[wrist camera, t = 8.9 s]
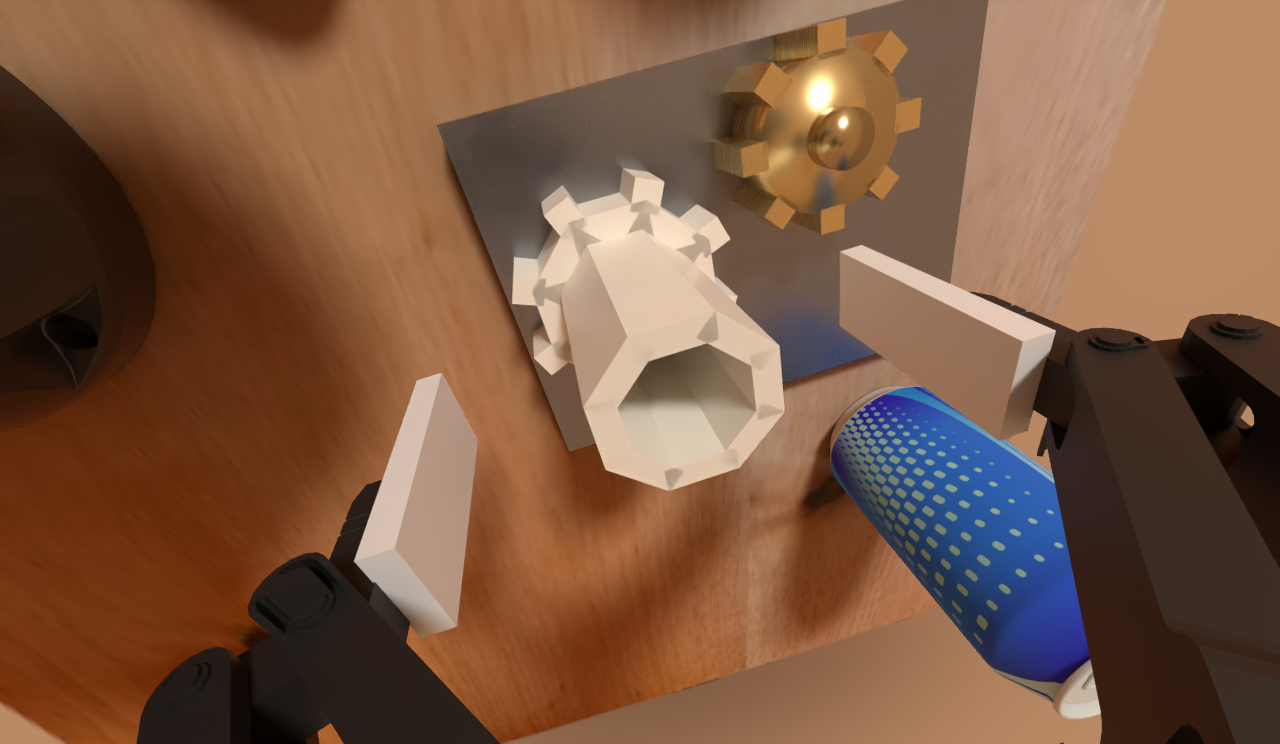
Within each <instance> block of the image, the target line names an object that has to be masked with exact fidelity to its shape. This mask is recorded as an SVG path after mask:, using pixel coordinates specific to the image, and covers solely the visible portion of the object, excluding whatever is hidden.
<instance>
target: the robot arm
mask: <svg viewBox="0 0 1280 744" xmlns="http://www.w3.org/2000/svg"><path fill="white" fill-rule="evenodd" d="M154 302H155V281H154V271H153V266H152V261H151V257H150V253H149V250H148V247H147V243H146V240H145V238H144V235H143V233H142V230H141V227H140V225H139V223H138V221H137V219H136V217H135V215H134V213H133V211H132V209H131V207H130V205H129V204H128V202H127V200H126V198H125V196H124V195H123V193H122V192H121V190H120V189H119V187H118V186H117V184H116V182H115V181H114V179H113V178H112V177H111V175H110V174H109V172H108V171H107V170H106V168H105V167H104V166H103V164H102V163H101V162H100V160H99V159H98V158H97V157H96V156H95V154H94V153H93V152H92V151H91V149H90V148H89V147H88V146H87V145H86V144H85V142H84V141H83V140H82V139H81V138H80V137H79V136H78V135H77V134H76V133H75V131H74V130H73V129H72V128H71V127H70V126H69V125H68V124H67V123H66V122H65V121H64V120H63V119H62V118H61V117H60V116H59V115H58V114H57V113H56V112H55V111H54V110H53V109H52V108H51V107H49V106H48V105H47V104H46V103H45V102H44V101H43V100H42V99H41V98H40V97H38V96H37V95H36V94H35V93H34V92H33V91H32V90H30V89H29V88H28V87H27V86H26V85H24V84H23V83H22V82H21V81H20V80H18V79H17V78H16V77H15V76H13V75H12V74H11V73H10V72H8V71H7V70H6V69H4V68H3V67H2V66H0V433H1V432H4V431H7V430H11V429H14V428H17V427H20V426H23V425H26V424H29V423H32V422H34V421H37V420H39V419H41V418H44V417H46V416H48V415H50V414H52V413H55V412H57V411H58V410H60V409H62V408H64V407H66V406H68V405H69V404H71V403H72V402H74V401H76V400H77V399H79V398H80V397H82V396H83V395H85V394H86V393H87V392H89V391H90V390H92V389H93V388H95V387H96V386H98V385H99V384H101V383H102V382H104V381H105V380H107V379H108V378H109V377H111V376H112V375H113V374H115V373H116V372H117V371H119V370H120V369H121V368H122V367H123V366H124V365H125V364H126V363H127V362H128V361H129V360H130V359H131V358H132V356H133V355H134V354H135V353H136V351H137V350H138V348H139V347H140V345H141V344H142V342H143V340H144V338H145V336H146V334H147V332H148V329H149V326H150V323H151V320H152V315H153V311H154ZM839 326H841V327H842V328H843V329H845V330H846V331H847V332H849V333H850V334H852V335H853V336H854V337H856V338H857V339H859V340H860V341H861V342H863V343H864V344H865V345H867V346H868V347H870V348H871V349H872V350H874V351H875V352H877V353H878V354H879V355H881V356H882V357H883V358H885V359H886V360H888V361H889V362H890V363H892V364H893V365H895V366H896V367H897V368H899V369H900V370H901V371H903V372H904V373H906V374H907V375H908V376H910V377H911V378H913V379H914V380H915V381H917V382H918V383H919V384H921V385H922V386H924V387H925V388H926V389H928V390H929V391H931V392H932V393H933V394H935V395H936V396H937V397H939V398H940V399H942V400H943V401H944V402H946V403H947V404H949V405H950V406H951V407H953V408H954V409H955V410H957V411H958V412H960V413H961V414H962V415H964V416H965V417H967V418H968V419H969V420H971V421H972V422H973V423H975V424H976V425H978V426H979V427H980V428H982V429H983V430H985V431H986V432H987V433H989V434H990V435H991V436H993V437H994V438H996V439H997V440H998V441H999V440H1002V439H1005V438H1008V437H1011V436H1013V435H1016V434H1019V433H1022V432H1025V431H1027V430H1028V427H1029V424H1030V420H1031V417H1032V413H1033V410H1035V411H1036V412H1038V413H1040V414H1041V415H1043V416H1044V417H1046V418H1048V419H1047V423H1046V425H1045V429H1044V432H1043V435H1042V438H1041V441H1040V445H1039V448H1038V452H1037V456H1043V454H1044V451H1045V450H1046V449H1048V453H1049V458H1050V463H1051V468H1052V473H1053V478H1054V483H1055V488H1056V493H1057V498H1058V503H1059V507H1060V512H1061V517H1062V522H1063V527H1064V532H1065V537H1066V542H1067V547H1068V552H1069V557H1070V562H1071V567H1072V572H1073V577H1074V582H1075V587H1076V592H1077V597H1078V602H1079V607H1080V612H1081V616H1082V621H1083V626H1084V631H1085V636H1086V641H1087V646H1088V651H1089V656H1090V661H1091V666H1092V671H1093V676H1094V681H1095V686H1096V691H1097V696H1098V701H1099V706H1100V711H1101V718H1102V734H1101V742H1100V744H1280V327H1278V326H1276V325H1274V324H1272V323H1269V322H1267V321H1264V320H1260V319H1255V318H1253V317H1251V316H1246V315H1240V316H1239V315H1238V314H1210V315H1204V316H1198V317H1196V318H1194V319H1192V320H1190V322H1189V324H1188V326H1187V328H1186V331H1185V333H1184V335H1183V337H1182V338H1179V339H1171V340H1160V341H1151V340H1150V339H1148V338H1146V337H1144V336H1142V335H1140V334H1138V333H1134V332H1130V331H1126V330H1122V329H1113V328H1091V329H1087V330H1083V331H1079V332H1076V331H1074V330H1072V329H1069V328H1067V327H1065V326H1062V325H1060V324H1057V323H1055V322H1053V321H1051V320H1048V319H1046V318H1044V317H1041V316H1039V315H1037V314H1034V313H1032V312H1026V310H1025V309H1022V308H1020V307H1018V306H1015V305H1014V306H1012V305H1011V303H1008V302H1006V301H1004V300H1001V299H999V298H997V297H994V296H991V295H986V294H981V293H976V292H967V291H965V290H963V289H960V288H958V287H956V286H954V285H951V284H949V283H947V282H944V281H942V280H940V279H938V278H935V277H933V276H931V275H929V274H926V273H924V272H922V271H920V270H917V269H915V268H913V267H910V266H908V265H906V264H904V263H901V262H899V261H897V260H895V259H892V258H890V257H888V256H886V255H883V254H881V253H879V252H876V251H874V250H872V249H870V248H867V247H865V246H863V245H860V246H857V247H853V248H850V249H847V250H844V251H840V323H839ZM1247 406H1249V407H1250V408H1251V410H1252V412H1253V415H1254V425H1253V426H1252V427H1251V426H1250V425H1248V424H1247V423H1246V422H1245V421H1244V420H1242V419H1241V418H1240V417H1241V416H1242V414H1243V412H1244V411H1245V409H1246V407H1247ZM477 444H478V439H477V437H476V436H475V434H474V432H473V430H472V428H471V426H470V424H469V422H468V421H467V419H466V417H465V415H464V413H463V411H462V409H461V408H460V406H459V404H458V402H457V400H456V398H455V396H454V395H453V393H452V391H451V389H450V387H449V385H448V383H447V381H446V380H445V378H444V376H443V374H442V373H440V374H436V375H433V376H430V377H426V378H423V379H420V380H417V382H416V385H415V388H414V391H413V393H412V396H411V399H410V402H409V405H408V408H407V411H406V414H405V416H404V419H403V422H402V425H401V428H400V431H399V434H398V437H397V439H396V442H395V445H394V448H393V451H392V454H391V457H390V459H389V462H388V465H387V468H386V471H385V474H384V477H383V480H380V481H377V482H374V483H370V484H367V485H366V486H365V487H364V489H363V490H362V491H361V492H360V494H359V495H358V496H357V497H356V498H355V500H354V501H353V502H352V505H351V507H350V510H349V512H348V515H347V517H346V522H345V523H344V525H343V527H342V530H341V532H340V534H341V536H340V537H338V540H337V542H336V545H335V547H334V549H333V552H332V554H331V557H330V559H329V560H328V559H327V558H326V557H325V556H324V555H322V554H320V553H317V552H316V553H306V554H303V555H301V556H298V557H296V558H293V559H291V560H289V561H288V562H286V563H285V564H283V565H281V566H280V567H278V568H277V569H276V570H274V571H273V572H272V573H271V574H270V575H269V576H268V577H267V578H266V579H264V580H263V581H262V583H261V584H260V585H259V587H258V588H257V589H256V591H255V592H254V593H253V595H252V597H251V600H250V602H249V605H248V612H249V616H250V617H251V618H252V619H253V620H255V621H256V622H257V623H258V624H259V625H261V626H262V627H263V628H264V629H265V630H267V631H268V632H269V633H270V634H271V635H273V636H271V637H269V638H268V639H266V640H264V641H263V642H261V643H259V644H258V645H256V646H254V647H253V648H251V649H249V650H247V651H246V652H244V653H242V654H241V655H239V656H235V655H234V654H233V653H231V652H230V651H229V650H228V649H225V648H221V647H215V648H211V649H206V650H204V651H202V652H200V653H198V654H196V655H194V656H192V657H190V658H189V659H188V660H186V661H185V662H184V663H182V664H181V665H180V666H178V667H177V668H176V669H174V670H173V671H172V672H171V673H170V674H169V675H168V676H167V677H166V678H165V679H164V680H163V681H162V682H161V683H160V684H159V685H158V687H157V688H156V689H155V691H154V692H153V694H152V695H151V697H150V698H149V699H148V701H147V702H146V705H145V708H144V710H143V713H142V715H141V720H140V726H139V732H138V738H137V744H319V739H318V731H319V730H321V729H322V728H324V727H325V726H327V725H328V724H330V723H331V724H332V725H333V727H334V729H335V730H336V732H337V733H338V735H339V736H340V738H341V740H342V741H343V743H344V744H500V743H499V742H498V741H497V740H496V739H495V738H494V736H493V735H492V734H491V733H490V732H489V731H488V730H487V729H486V728H485V727H484V726H483V725H482V724H481V723H480V721H479V720H478V719H477V718H476V717H475V716H474V715H473V714H472V713H471V712H470V711H469V710H468V709H467V708H466V707H465V705H464V704H463V703H462V702H461V701H460V700H459V699H458V698H457V697H456V696H455V695H454V694H453V693H452V692H451V690H450V689H449V688H448V687H447V686H446V685H445V684H444V683H443V682H442V681H441V680H440V679H439V678H438V677H437V676H436V674H435V673H434V672H433V671H432V670H431V669H430V668H429V667H428V666H427V665H426V664H425V663H424V662H423V661H422V659H421V658H420V657H419V656H418V655H417V654H416V653H415V652H414V651H413V650H412V649H411V648H410V647H409V646H408V645H407V643H406V640H407V635H408V630H409V625H411V626H412V627H413V629H414V630H415V631H416V632H417V633H418V634H419V635H420V636H421V638H425V637H428V636H431V635H434V634H437V633H440V632H442V631H445V630H448V629H451V628H454V627H457V621H458V612H459V603H460V594H461V585H462V576H463V568H464V559H465V550H466V541H467V532H468V523H469V515H470V506H471V497H472V488H473V479H474V470H475V462H476V453H477ZM1061 744H1064V743H1061Z"/></svg>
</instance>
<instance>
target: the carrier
mask: <svg viewBox="0 0 1280 744" xmlns="http://www.w3.org/2000/svg"><path fill="white" fill-rule="evenodd" d="M987 6H988V0H902V1H898V2H895V3H891V4H887V5H884V6H880V7H876V8H872V9H869V10H865V11H861V12H857V13H854V14H850V15H846V16H842V17H839V18H835V19H831V20H827V21H824V22H820V23H816V24H812V25H809V26H805V27H801V28H797V29H794V30H790V31H786V32H783V33H779V34H775V35H771V36H768V37H764V38H760V39H756V40H753V41H749V42H745V43H741V44H738V45H734V46H730V47H726V48H723V49H719V50H715V51H711V52H708V53H704V54H700V55H696V56H693V57H689V58H685V59H682V60H678V61H674V62H670V63H667V64H663V65H659V66H655V67H652V68H648V69H644V70H640V71H637V72H633V73H629V74H625V75H622V76H618V77H614V78H610V79H607V80H603V81H599V82H595V83H592V84H588V85H584V86H581V87H577V88H573V89H569V90H566V91H562V92H558V93H554V94H551V95H547V96H543V97H539V98H536V99H532V100H528V101H524V102H521V103H517V104H513V105H509V106H506V107H502V108H498V109H494V110H491V111H487V112H483V113H480V114H476V115H472V116H468V117H465V118H461V119H457V120H453V121H450V122H446V123H442V124H440V125H437V127H438V129H439V132H440V134H441V137H442V139H443V141H444V144H445V146H446V149H447V151H448V154H449V156H450V159H451V161H452V164H453V166H454V169H455V171H456V174H457V176H458V179H459V181H460V183H461V186H462V188H463V191H464V193H465V196H466V198H467V201H468V203H469V206H470V208H471V211H472V213H473V216H474V218H475V220H476V223H477V225H478V228H479V230H480V233H481V235H482V238H483V240H484V243H485V245H486V248H487V250H488V253H489V255H490V257H491V260H492V262H493V265H494V267H495V270H496V272H497V275H498V277H499V280H500V282H501V285H502V287H503V290H504V292H505V294H506V297H507V299H508V302H509V304H510V307H511V309H512V312H513V314H514V317H515V319H516V322H517V324H518V327H519V329H520V331H521V334H522V336H523V339H524V341H525V344H526V346H527V349H528V351H529V354H530V356H531V359H532V361H533V364H534V366H535V368H536V371H537V373H538V376H539V378H540V381H541V383H542V386H543V388H544V391H545V393H546V396H547V398H548V401H549V403H550V405H551V408H552V410H553V413H554V415H555V418H556V420H557V423H558V425H559V428H560V430H561V433H562V435H563V438H564V440H565V442H566V445H567V447H568V450H569V452H571V451H574V450H577V449H580V448H583V447H586V446H590V445H593V444H596V442H595V439H594V436H593V433H592V430H591V428H590V425H589V422H588V419H587V417H586V414H585V411H584V408H583V405H582V400H581V395H580V390H579V385H578V380H577V375H576V370H575V365H574V364H571V363H567V364H566V365H565V366H563V367H562V368H561V369H559V370H558V371H557V372H555V373H554V374H553V375H551V374H550V373H549V372H548V371H547V370H546V369H545V368H544V367H543V366H541V365H540V364H539V363H538V362H537V361H536V360H535V359H534V349H533V332H534V331H536V330H537V329H538V328H539V327H541V326H542V325H543V324H544V323H543V320H542V318H541V315H540V312H539V310H538V307H537V306H534V305H521V304H512V294H513V269H514V257H518V258H528V259H537V258H538V256H539V254H540V252H541V250H542V248H543V246H544V244H545V243H546V241H547V239H548V237H549V235H550V233H551V231H552V229H553V227H552V225H551V224H550V223H549V222H548V221H547V219H546V218H545V217H544V215H543V210H542V204H541V202H543V201H544V200H545V199H546V198H547V197H549V196H550V195H551V194H552V193H553V192H555V191H556V190H557V189H558V188H559V187H561V186H562V185H563V186H564V188H565V189H566V190H567V192H568V193H569V194H570V196H571V197H572V198H573V199H574V201H575V202H576V203H577V204H580V203H584V202H588V201H591V200H595V199H598V198H602V197H605V196H609V195H612V194H616V193H619V190H620V183H621V176H622V168H625V169H632V170H638V171H644V172H649V173H651V174H653V175H654V176H656V177H658V178H659V179H661V180H663V181H664V187H663V193H662V199H661V204H660V206H661V207H663V208H665V209H666V210H668V211H669V212H671V213H672V214H674V215H675V216H677V217H679V218H680V217H681V216H682V215H684V214H685V213H686V212H687V211H689V210H690V209H691V208H693V207H694V206H695V205H696V204H697V205H699V206H701V207H702V208H704V209H706V210H707V211H709V212H710V213H712V214H714V215H715V216H717V217H718V219H719V221H720V222H721V224H722V226H723V227H724V229H725V231H726V232H727V234H728V236H729V237H730V240H729V241H727V242H726V243H725V244H724V245H722V246H721V247H720V248H718V249H717V250H716V251H714V252H713V253H712V254H711V255H712V262H713V269H714V276H715V277H717V278H718V279H719V280H721V281H722V282H723V283H724V284H725V285H726V286H727V287H728V288H729V289H730V290H731V291H732V292H734V293H735V294H736V295H737V300H736V304H737V305H738V306H739V307H740V308H741V309H742V310H743V311H744V312H745V313H746V314H747V315H748V316H749V317H750V318H751V319H752V320H753V321H754V322H755V323H756V324H757V325H759V326H760V327H761V328H762V329H763V330H764V331H765V332H766V333H767V334H768V335H769V336H770V337H771V338H772V339H773V340H774V341H775V342H776V343H777V344H778V345H779V346H780V359H781V372H782V384H783V383H786V382H789V381H793V380H796V379H799V378H802V377H805V376H808V375H811V374H814V373H818V372H821V371H824V370H827V369H830V368H833V367H836V366H839V365H843V364H846V363H849V362H852V361H855V360H858V359H861V358H864V357H868V356H871V355H874V354H877V352H875V351H874V350H872V349H871V348H870V347H868V346H867V345H865V344H864V343H863V342H861V341H860V340H859V339H857V338H856V337H854V336H853V335H852V334H850V333H849V332H847V331H846V330H845V329H843V328H842V327H841V326H839V323H840V251H844V250H847V249H850V248H853V247H857V246H860V245H863V246H865V247H867V248H870V249H872V250H874V251H876V252H879V253H881V254H883V255H886V256H888V257H890V258H892V259H895V260H897V261H899V262H901V263H904V264H906V265H908V266H910V267H913V268H915V269H917V270H920V271H922V272H924V273H926V274H929V275H931V276H933V277H935V278H938V279H940V280H942V281H944V282H947V283H949V284H950V279H951V271H952V264H953V257H954V249H955V242H956V235H957V227H958V220H959V213H960V205H961V198H962V190H963V183H964V176H965V168H966V161H967V154H968V146H969V139H970V131H971V124H972V117H973V109H974V102H975V95H976V87H977V80H978V73H979V65H980V58H981V50H982V43H983V36H984V28H985V21H986V14H987Z"/></svg>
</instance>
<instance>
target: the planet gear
mask: <svg viewBox="0 0 1280 744" xmlns="http://www.w3.org/2000/svg"><path fill="white" fill-rule="evenodd" d="M663 187H664V181H663V180H661V179H659V178H658V177H656V176H654V175H653V174H651V173H649V172H644V171H638V170H632V169H625V168H622V176H621V183H620V190H619V193H616V194H612V195H609V196H605V197H602V198H598V199H595V200H591V201H588V202H584V203H580V204H577V203H576V202H575V201H574V199H573V198H572V197H571V196H570V194H569V193H568V192H567V190H566V189H565V188H564V186H563V185H562V186H561V187H559V188H558V189H557V190H556V191H555V192H553V193H552V194H551V195H550V196H549V197H547V198H546V199H545V200H544V201H543V202H541V204H542V210H543V215H544V217H545V218H546V219H547V221H548V222H549V223H550V224H551V225H552V227H553V229H552V231H551V233H550V235H549V237H548V239H547V241H546V243H545V244H544V246H543V248H542V250H541V252H540V254H539V256H538V258H537V259H528V258H518V257H514V269H513V294H512V304H521V305H534V306H537V307H538V310H539V312H540V315H541V318H542V320H543V323H544V324H543V325H542V326H541V327H539V328H538V329H537V330H536V331H534V332H533V349H534V359H535V360H536V361H537V362H538V363H539V364H540V365H541V366H543V367H544V368H545V369H546V370H547V371H548V372H549V373H550V374H551V375H553V374H554V373H555V372H557V371H558V370H559V369H561V368H562V367H563V366H565V365H566V364H567V363H571V364H574V365H575V370H576V375H577V380H578V385H579V390H580V395H581V400H582V405H583V408H584V411H585V414H586V417H587V419H588V422H589V425H590V428H591V430H592V433H593V436H594V439H595V442H596V444H597V447H598V450H599V453H600V455H601V458H602V461H603V464H604V467H605V470H607V471H610V472H613V473H616V474H619V475H622V476H625V477H628V478H631V479H634V480H637V481H640V482H643V483H646V484H649V485H652V486H656V487H659V488H662V489H665V490H668V491H671V490H674V489H677V488H680V487H683V486H686V485H689V484H692V483H695V482H698V481H701V480H704V479H707V478H710V477H713V476H716V475H719V474H722V473H725V472H728V471H731V470H734V469H737V468H740V466H741V465H742V464H743V463H744V461H745V460H746V459H747V458H748V456H749V455H750V454H751V453H752V452H753V450H754V449H755V448H756V447H757V445H758V444H759V443H760V442H761V440H762V439H763V438H764V437H765V436H766V434H767V433H768V432H769V431H770V429H771V428H772V427H773V426H774V424H775V423H776V422H777V421H778V419H779V418H780V417H781V416H782V415H783V413H784V399H783V385H782V372H781V359H780V346H779V345H778V344H777V343H776V342H775V341H774V340H773V339H772V338H771V337H770V336H769V335H768V334H767V333H766V332H765V331H764V330H763V329H762V328H761V327H760V326H759V325H757V324H756V323H755V322H754V321H753V320H752V319H751V318H750V317H749V316H748V315H747V314H746V313H745V312H744V311H743V310H742V309H741V308H740V307H739V306H738V305H737V304H736V300H737V295H736V294H735V293H734V292H732V291H731V290H730V289H729V288H728V287H727V286H726V285H725V284H724V283H723V282H722V281H721V280H719V279H718V278H717V277H715V276H714V269H713V262H712V255H711V254H712V253H713V252H714V251H716V250H717V249H718V248H720V247H721V246H722V245H724V244H725V243H726V242H727V241H729V240H730V237H729V236H728V234H727V232H726V231H725V229H724V227H723V226H722V224H721V222H720V221H719V219H718V217H717V216H715V215H714V214H712V213H710V212H709V211H707V210H706V209H704V208H702V207H701V206H699V205H697V204H696V205H695V206H694V207H693V208H691V209H690V210H689V211H687V212H686V213H685V214H684V215H682V216H681V217H680V218H679V217H677V216H675V215H674V214H672V213H671V212H669V211H668V210H666V209H665V208H663V207H661V206H660V204H661V199H662V193H663Z"/></svg>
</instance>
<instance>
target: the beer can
mask: <svg viewBox="0 0 1280 744" xmlns="http://www.w3.org/2000/svg"><path fill="white" fill-rule="evenodd" d="M830 451H831V453H830V467H831V471H832V473H833V476H834V477H835V479H836V480H837V482H838V483H839V484H840V485H841V486H842V488H843V489H844V490H845V491H846V492H847V494H848V495H849V496H850V497H851V499H852V500H853V501H854V502H855V503H856V505H857V506H858V507H859V508H860V509H861V511H862V512H863V513H864V514H865V516H866V517H867V518H868V519H869V520H870V522H871V523H872V524H873V525H874V527H875V528H876V529H877V530H878V531H879V533H880V534H881V535H882V536H883V537H884V539H885V540H886V541H887V542H888V544H889V545H890V546H891V547H892V548H893V550H894V551H895V552H896V553H897V554H898V556H899V557H900V558H901V559H902V561H903V562H904V563H905V564H906V565H907V567H908V568H909V569H910V570H911V572H912V573H913V574H914V575H915V576H916V578H917V579H918V580H919V581H920V582H921V584H922V585H923V586H924V587H925V589H926V590H927V591H928V592H929V593H930V595H931V596H932V597H933V598H934V599H935V601H936V602H937V603H938V604H939V605H940V607H941V608H942V609H943V610H944V612H945V613H946V614H947V615H948V617H949V618H950V619H951V620H952V621H953V622H954V624H955V625H956V626H957V627H958V629H959V630H960V631H961V632H962V634H963V635H964V636H965V637H966V638H967V640H968V641H969V642H970V643H971V644H972V646H973V647H974V648H975V649H976V651H977V652H978V653H979V654H980V655H981V657H982V658H983V659H984V660H985V662H987V664H988V665H989V666H990V667H991V668H992V669H993V670H994V671H995V672H997V673H998V674H999V675H1001V676H1002V677H1004V678H1006V679H1008V680H1010V681H1012V682H1014V683H1016V684H1018V685H1019V686H1022V687H1023V688H1025V689H1027V690H1029V691H1031V692H1033V693H1035V694H1037V695H1039V696H1041V697H1042V698H1045V699H1046V700H1048V701H1050V702H1051V703H1052V704H1053V707H1054V709H1055V710H1056V712H1057V713H1058V714H1059V715H1061V716H1062V717H1064V718H1068V719H1081V718H1087V717H1091V716H1095V715H1099V714H1101V711H1100V706H1099V701H1098V696H1097V691H1096V686H1095V681H1094V676H1093V671H1092V666H1091V661H1090V656H1089V651H1088V646H1087V641H1086V636H1085V631H1084V626H1083V621H1082V616H1081V612H1080V607H1079V602H1078V597H1077V592H1076V587H1075V582H1074V577H1073V572H1072V567H1071V562H1070V557H1069V552H1068V547H1067V542H1066V537H1065V532H1064V527H1063V522H1062V517H1061V512H1060V507H1059V503H1058V498H1057V493H1056V488H1055V483H1054V478H1053V473H1051V472H1049V471H1048V470H1047V469H1045V468H1044V467H1043V466H1041V465H1040V464H1038V463H1037V462H1036V461H1034V460H1033V459H1031V458H1030V457H1029V456H1027V455H1026V454H1024V453H1023V452H1021V451H1020V450H1019V449H1017V448H1016V447H1014V446H1013V445H1012V444H1010V443H1009V442H1007V441H1006V440H1005V439H1002V440H999V441H998V440H997V439H996V438H994V437H993V436H991V435H990V434H989V433H987V432H986V431H985V430H983V429H982V428H980V427H979V426H978V425H976V424H975V423H973V422H972V421H971V420H969V419H968V418H967V417H965V416H964V415H962V414H961V413H960V412H958V411H957V410H955V409H954V408H953V407H951V406H950V405H949V404H947V403H946V402H944V401H943V400H942V399H940V398H939V397H937V396H936V395H935V394H933V393H932V392H931V391H929V390H928V389H926V388H925V387H922V386H907V387H904V386H891V387H885V388H881V389H878V390H876V391H873V392H871V393H869V394H867V395H865V396H864V397H862V398H861V399H859V400H858V401H856V402H855V403H854V404H853V405H851V406H850V407H849V408H848V409H847V410H846V411H845V413H844V414H843V415H842V416H841V418H840V419H839V420H838V422H837V424H836V426H835V428H834V430H833V432H832V435H831V440H830Z"/></svg>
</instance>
